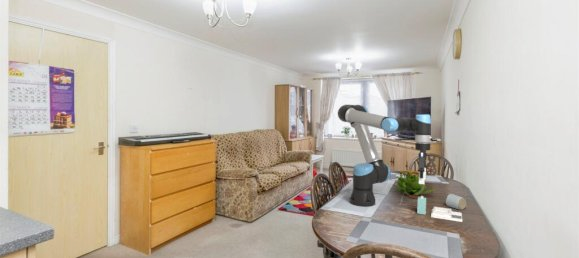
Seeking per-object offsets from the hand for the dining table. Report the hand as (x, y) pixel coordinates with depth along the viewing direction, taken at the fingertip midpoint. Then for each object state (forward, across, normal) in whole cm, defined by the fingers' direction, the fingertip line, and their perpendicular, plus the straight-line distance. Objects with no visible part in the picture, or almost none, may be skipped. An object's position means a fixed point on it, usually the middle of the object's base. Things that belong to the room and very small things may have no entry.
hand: (422, 181), depth 159 cm
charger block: (+17, 0, 0) cm, 17 cm away
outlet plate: (+17, 0, -12) cm, 21 cm away
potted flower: (+17, +34, +7) cm, 38 cm away
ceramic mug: (+18, +20, -17) cm, 32 cm away
